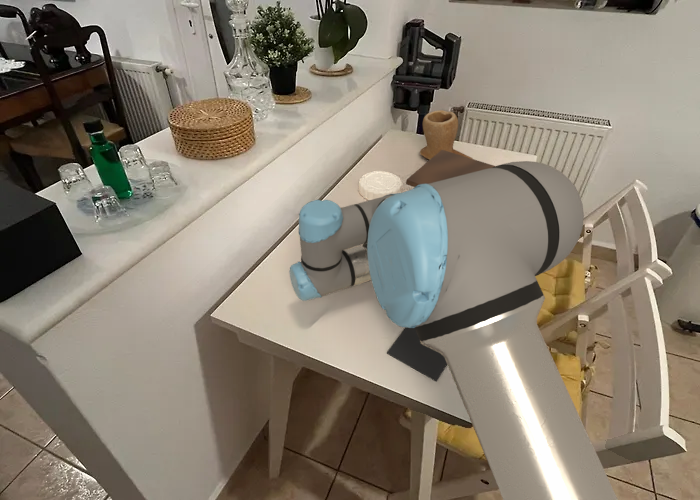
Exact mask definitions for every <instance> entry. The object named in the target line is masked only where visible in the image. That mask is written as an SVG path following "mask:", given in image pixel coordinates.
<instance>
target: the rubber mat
mask: <svg viewBox="0 0 700 500" xmlns="http://www.w3.org/2000/svg"><path fill="white" fill-rule="evenodd" d="M386 354H387V355H389V356H391V357H393V358H394V359H396V360H397V361H399V362H401V363H403V364H405V365H406V366H408V367H410V368H412V369H413V370H415V371H417V372H418V373H420V374H422V375H424V376H425V377H428V378H429V379H431V380H433V381H434V382H438V380H439V378H440V377H441V375H442V374H443V372H444V371H445V370H446V367H448V365H447V362H446V360H445V357H444V356H443V355H442V354H440V353H439V352H437V351H435V350H433V349H431V348H429V347H426V346H424V345H422V344H421V342H420V340H419V337H418V335H417V332H416V330H415V328H408V327H404V330H403V331H402V332H401V333H400V335H399V336H398V337H397V338H396V340H395V341H394V342H393V344H392V345H391V346H390V347H389V349H388V350H387V351H386Z"/></svg>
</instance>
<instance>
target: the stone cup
mask: <svg viewBox="0 0 700 500" xmlns="http://www.w3.org/2000/svg"><path fill="white" fill-rule="evenodd" d="M422 130H423V135H424V138H425V141H426V146H424V147H422V148H421V149H420V151H419V154H420V155H421V156H422V157H424V158H426V159H427V160H428V161H429V160H430V159H431V158H433V157H434V156H435V155H436V154H437V153H438V152H440V151H441V150H445V151H448V152H451V153H455V154H458V155H461V156H464V157H468V158H471V159H474V158H473V157H471V156H469V155H467V154H465V153H463V152H460V151H459V150H456V149H454V144H455V140H456V137H457V135H458V130H459V120H458V117H457V115H456V114H455V112H453V111H446V110H443V109H439V110H434V111H431V112H430V111H429V112H428V113H426V114H425V115H424V117H423V119H422Z"/></svg>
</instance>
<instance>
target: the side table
mask: <svg viewBox="0 0 700 500" xmlns="http://www.w3.org/2000/svg"><path fill="white" fill-rule="evenodd" d="M471 158H472V157H471ZM471 158H468V157H464V156H461V155H458V154H455V153H451V152H448V151H445V150H441V151H440V152H438V153H437V154H436V155H435V156H434V157H433V158H431V159H430V160H429V159H428V161H426V162H425V163H424V164H423V165H422V166H420V167H419V168H418V169H417V170H416V171H415V172H414V173H412V174H411V175H410V176H409V177H408V178H406V179H405V185H407V186H410V187H413V188H415V187H416V186H417V185H420V184H429V183H433V182H437V181H441V180H445V179H449V178H453V177H457V176H461V175H465V174H469V173H473V172H477V171H481V170H484V169H488V168H492V167H495V166H496V165H493V164H491V163H488V162H484V161H480V160H477V159H474V158H473V159H471Z"/></svg>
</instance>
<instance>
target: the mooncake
mask: <svg viewBox="0 0 700 500" xmlns="http://www.w3.org/2000/svg"><path fill="white" fill-rule="evenodd" d="M358 180H359V181H358V192H359V195H360V196H361V197H362V198H363V199H365V200H366V201H369V200H373V199H376V198H380V197H383V196H385V195H389V194H396V193H402V192H403V181H402V179H401V178H400V176H398V175H397V174H395V173H392V172H388V171H385V170H384V171H383V170H373V171H370V172H366V173H365V174H362V175H361V177H359V179H358Z"/></svg>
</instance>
